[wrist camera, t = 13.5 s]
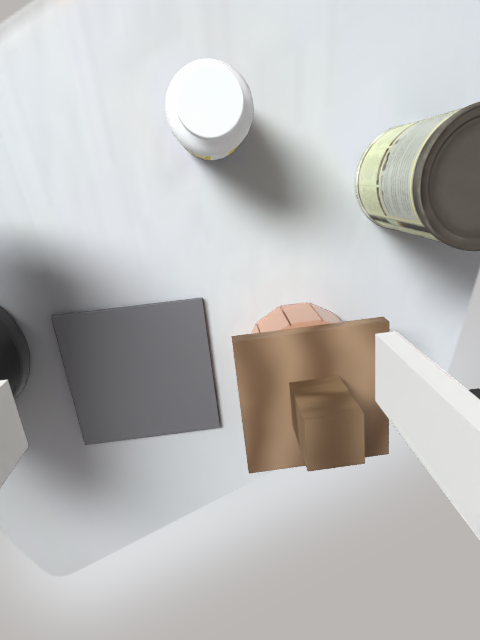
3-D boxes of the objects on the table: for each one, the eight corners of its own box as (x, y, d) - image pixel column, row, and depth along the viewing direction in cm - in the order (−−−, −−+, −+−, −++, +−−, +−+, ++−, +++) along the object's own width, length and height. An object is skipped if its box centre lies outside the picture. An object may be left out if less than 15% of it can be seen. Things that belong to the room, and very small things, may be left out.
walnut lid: (247, 464, 46) (256, 525, 38) (231, 336, 41) (237, 374, 33) (383, 445, 46) (419, 501, 38) (383, 316, 42) (425, 350, 34)
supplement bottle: (238, 78, 39) (252, 35, 27) (249, 154, 42) (266, 145, 29) (167, 90, 39) (149, 52, 27) (182, 165, 41) (171, 161, 29)
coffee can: (444, 109, 42) (556, 77, 28) (457, 212, 45) (562, 227, 32) (343, 141, 42) (407, 124, 28) (363, 241, 45) (428, 268, 32)
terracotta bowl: (251, 405, 50) (256, 434, 45) (240, 310, 47) (245, 328, 41) (349, 393, 51) (367, 420, 45) (347, 297, 47) (366, 314, 41)
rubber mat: (86, 441, 50) (85, 444, 50) (53, 315, 45) (51, 317, 45) (219, 424, 51) (219, 427, 50) (202, 297, 46) (202, 299, 45)
